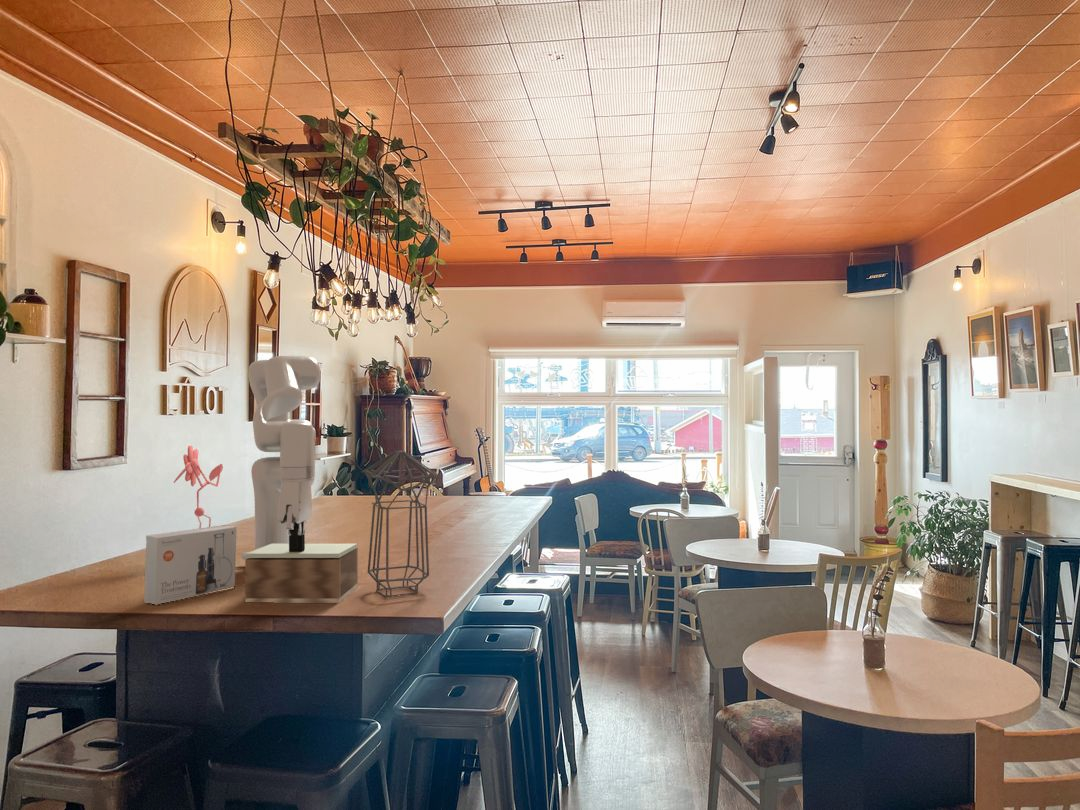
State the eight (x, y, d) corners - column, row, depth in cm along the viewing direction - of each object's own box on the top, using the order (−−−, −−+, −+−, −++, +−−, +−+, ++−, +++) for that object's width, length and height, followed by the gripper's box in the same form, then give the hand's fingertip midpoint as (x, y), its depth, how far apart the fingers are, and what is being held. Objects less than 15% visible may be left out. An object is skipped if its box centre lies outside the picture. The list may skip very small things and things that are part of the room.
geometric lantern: (418, 582, 193) (420, 448, 193) (438, 597, 179) (441, 452, 179) (357, 588, 186) (360, 449, 186) (373, 604, 172) (376, 453, 172)
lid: (245, 557, 173) (245, 553, 173) (271, 547, 189) (271, 543, 189) (339, 557, 172) (339, 553, 172) (357, 547, 188) (357, 543, 188)
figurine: (230, 552, 237) (228, 443, 238) (201, 569, 212) (198, 446, 212) (180, 554, 236) (178, 444, 236) (145, 571, 210) (142, 448, 210)
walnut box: (245, 602, 173) (245, 559, 173) (271, 586, 189) (271, 547, 189) (339, 602, 172) (339, 559, 172) (357, 587, 188) (357, 547, 188)
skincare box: (156, 606, 170) (156, 537, 170) (143, 603, 173) (143, 535, 173) (237, 588, 188) (237, 525, 188) (223, 586, 190) (224, 524, 191)
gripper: (292, 471, 183) (292, 546, 183) (268, 476, 169) (268, 557, 168) (322, 471, 183) (322, 546, 183) (301, 476, 168) (301, 557, 168)
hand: (296, 551), depth 176 cm, fingers closed
